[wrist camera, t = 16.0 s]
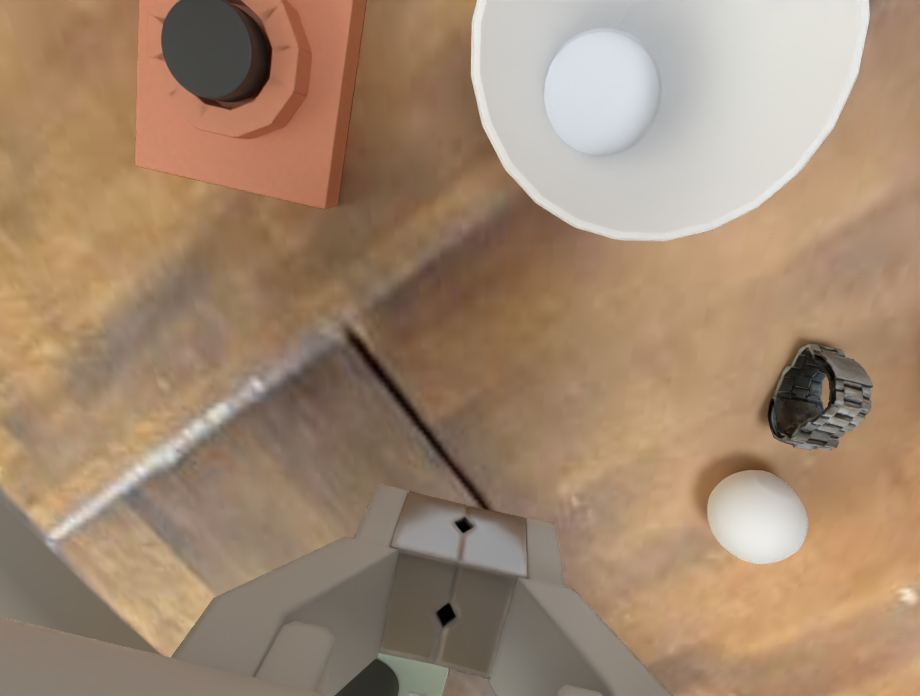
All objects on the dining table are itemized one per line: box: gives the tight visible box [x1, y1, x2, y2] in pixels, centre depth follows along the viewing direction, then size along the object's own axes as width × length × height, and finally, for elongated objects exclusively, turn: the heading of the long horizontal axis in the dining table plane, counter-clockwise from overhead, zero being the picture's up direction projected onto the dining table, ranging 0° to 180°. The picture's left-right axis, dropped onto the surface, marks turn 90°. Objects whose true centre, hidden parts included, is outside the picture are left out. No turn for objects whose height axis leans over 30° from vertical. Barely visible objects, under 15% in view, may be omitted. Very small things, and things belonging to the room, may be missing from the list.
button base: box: [135, 0, 366, 209], centre depth 28 cm, size 12×10×4 cm
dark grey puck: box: [161, 0, 268, 102], centre depth 25 cm, size 4×4×2 cm
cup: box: [471, 0, 870, 241], centre depth 22 cm, size 10×10×14 cm
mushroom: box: [707, 470, 808, 564], centre depth 32 cm, size 5×5×5 cm
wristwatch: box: [768, 344, 873, 450], centre depth 30 cm, size 3×5×5 cm
